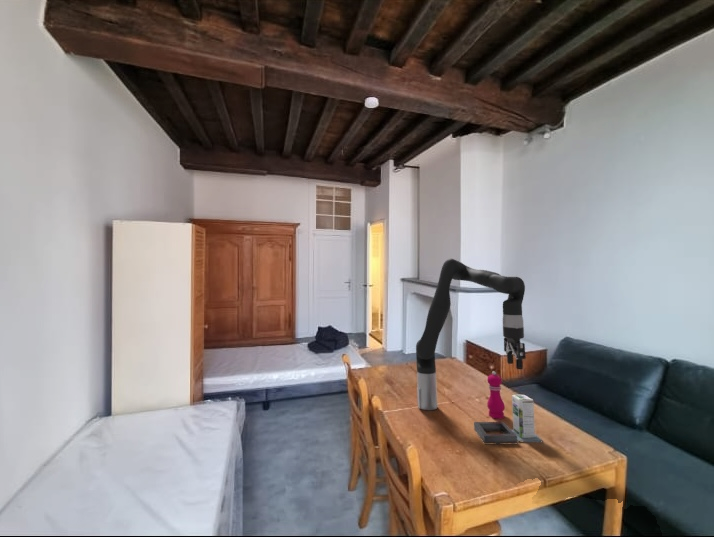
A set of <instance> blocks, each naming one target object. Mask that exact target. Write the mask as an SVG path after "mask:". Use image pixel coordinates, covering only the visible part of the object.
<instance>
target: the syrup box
mask: <svg viewBox="0 0 714 537" xmlns="http://www.w3.org/2000/svg"><path fill="white" fill-rule="evenodd" d="M511 402H512V403H511V404H512V405H511V406H512V422H513V423H512V426H513V427H512V430H514V432H515V433H516V434H517V435H518V436H520V437H521V438H533V437H535V434H536V428H535V409H534V408H535V407H534V399H533V398H530V397H529V396H527V395H525V394H513V395H511Z"/></svg>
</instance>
